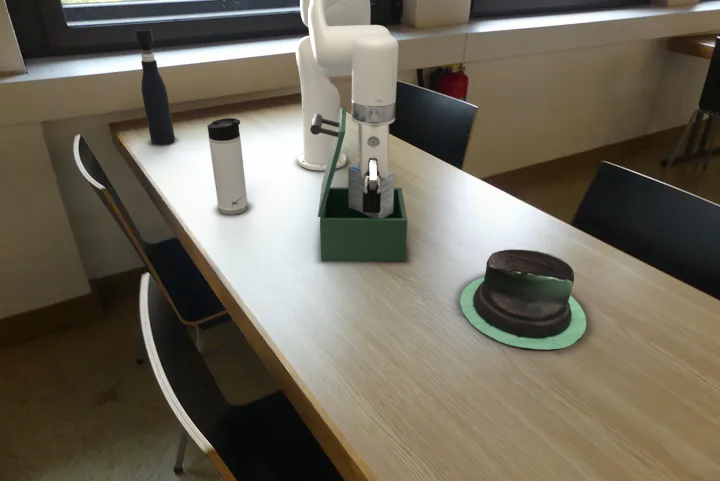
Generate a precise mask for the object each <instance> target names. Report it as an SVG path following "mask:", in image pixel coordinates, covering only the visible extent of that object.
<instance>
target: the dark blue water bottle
mask: <svg viewBox="0 0 720 481" xmlns="http://www.w3.org/2000/svg"><path fill="white" fill-rule="evenodd" d="M134 32H135V38H136V42H137V44H138V45H140V49H141V54H140V57H141V61H140V63H141V67H142V77H141V95H142V101H143V105H144V106H143V108H144V112H145V117H146V122H147V128H148V131H149V136H150V142H151V144H152V145H155V146H166V145H171V144H173V143H174V142H176V136H175V130H174V125H173V119H172V113H171V108H170V102H169V101H170V100H169V96H168V91H167V87H166V84H165V82H164V79H163V77H162V76H161V73H160V72H159V68H158V63H157V62H158V61H157V60H156V57H155V54H154V52H153V49H152V44H153V43H154V39H153V38H154V37H153V33H152V29H151V28H146V27H145V28H142V27H141V28H136V29H134Z"/></svg>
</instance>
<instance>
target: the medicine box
mask: <svg viewBox="0 0 720 481" xmlns="http://www.w3.org/2000/svg"><path fill="white" fill-rule="evenodd" d="M347 174H348V176H347V182H348V184H347V187H348V207H349V208H352V209H354V210H356V211H358V212H360V213H363V214H365V215H367V216H369V217H372V218H385V217H386V216H388V215H390V214H392V213H393V200H394V188H395V172H394V171H392V170H390V169H388V178H387V179H385V180H384V179H381V176H380V192H381V205H380V212H379V213H364V212H363V192H364V181H365V179H363V178H362V177H361V172H360V163H359V162H357V163H355V164H352V165H350V166H349V167H348V171H347ZM367 176H369V173H367ZM377 176H378V173H377ZM368 183H369V180H368V182H367V185H368Z"/></svg>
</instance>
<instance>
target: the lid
mask: <svg viewBox="0 0 720 481" xmlns="http://www.w3.org/2000/svg"><path fill="white" fill-rule="evenodd" d="M346 121H347V107H346V106H341V108H340V117H339V120H338V122H334V121H331V120H327V119H323V118H322V116H321V115H320V114H315V115H314V116H313V118H312V123H311V128H310V131H311V133H312V134H314V135H317V134H319V133H324V134H327V135H331V136H334V140H333V143H332V147H331V151H330V155H329V159H328V163H327V166H326V170H325V171H324V174H323V178H322V181H321V188H320V195H319V203H318V211H317V217H318V218H320V217H321V218H322V216H323V213H324V209H325V205H326V202H327V198H328V194H329V191H330V187H332V182H333V179H334V176H335V172H336V169H335V168H336V165H337V161H338V157H339V154H340V152H341V150H342V146H343V143H344V138H345V135H346V125H347V123H346ZM322 123H323V124H327V125H331V126H335V127H337V128H336V131H332V130H328V129H325V128H321V126H322Z"/></svg>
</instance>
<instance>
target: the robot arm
mask: <svg viewBox="0 0 720 481" xmlns="http://www.w3.org/2000/svg"><path fill="white" fill-rule="evenodd" d="M299 8H300V16H301V20H302V23H303V24H304V25H305V27H307V28H308V34H309V35H307V36H304V37H303V38H301V39H299V41H297V43H296V46H295V58H296V65H297V69H298V75H299V82H300V90H301V91H300V93H301V94H300V95H301V112H302V114H301V116H302V136H303V137H302V138H303V152H302V153H300V155H299V156H298V159H297V160H298V164H299V165H300V166H301V167H302V168H304V169H307V170H310V171H311V170H312V171H317V172H318V171H321V172H323V171H324V172H325V170H326V166H327V163H328V159H329V155H330V151H331V147H332V143H333V140H334V136H331V135H327V134H324V133H319V134H317V135H314V134H312V133H311V131H310V128H311V123H312V118H313V116H314V115H315V114H320V115H321V116H322V118H323V119H327V120H331V121H334V122H338V120H339V117H340V113H341V96H340V92H339V90H338V88H337V87H336V85H335V84H334V83H333V82H332V81H331V79H330V78H333V77H334V78H335V77H346V76H347V77H348V76H351V121H353V123H355V124H358V125H357V126H358V131H357V132H358V133H357V137H358V138H357V140H358V144H357V145H358V161H359V162H358V163H360V172H361V177H362V178H363V179H365V181H364V192H363V212H364V213H379V212H380V205H381V192H380V176H381V179H384V180H385V179H387V178H388V170H389V153H390V152H389V150H390V149H389V148H390V125H391V124H394V122H395V120H396V104H397V103H396V102H397V100H396V99H397V82H398V65H399V42H398V40H397V38H396V37H394V36H393V35H392V34H391V32H390V30H389V29H388V28H386V26H384V25H379V24H371V0H299ZM321 128H325V129H328V130H332V131H336V128H337V127H335V126H331V125H327V124H323V123H322V126H321ZM346 164H347V155H346V154H344V153H343V152H341V151H340V154H339V157H338V161H337V165H336V168H335V170H337V169H340V168H342V167H344V166H345V165H346ZM367 173H369V176H367ZM377 173H378V176H377ZM368 180H369V183H368V185H367V182H368Z"/></svg>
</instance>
